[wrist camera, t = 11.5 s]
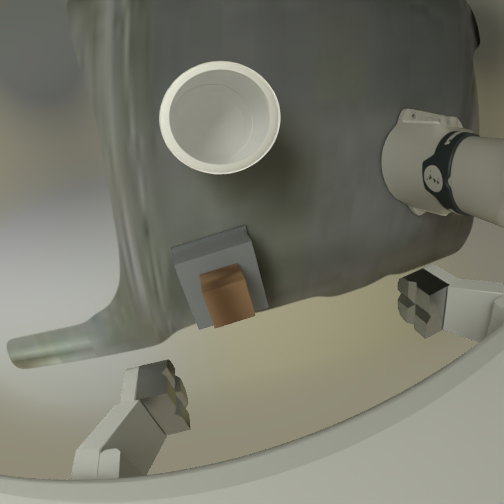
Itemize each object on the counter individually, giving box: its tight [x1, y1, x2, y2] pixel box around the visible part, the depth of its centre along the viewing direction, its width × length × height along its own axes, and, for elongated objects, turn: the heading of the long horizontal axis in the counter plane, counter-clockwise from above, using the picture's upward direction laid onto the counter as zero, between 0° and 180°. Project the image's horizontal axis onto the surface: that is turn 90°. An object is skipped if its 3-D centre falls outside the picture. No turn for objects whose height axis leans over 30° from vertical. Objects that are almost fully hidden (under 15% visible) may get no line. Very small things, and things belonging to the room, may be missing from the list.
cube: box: [199, 263, 255, 328], centre depth 37 cm, size 5×5×5 cm
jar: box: [159, 61, 280, 174], centre depth 31 cm, size 11×10×15 cm
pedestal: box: [171, 225, 269, 329], centre depth 43 cm, size 11×11×6 cm
